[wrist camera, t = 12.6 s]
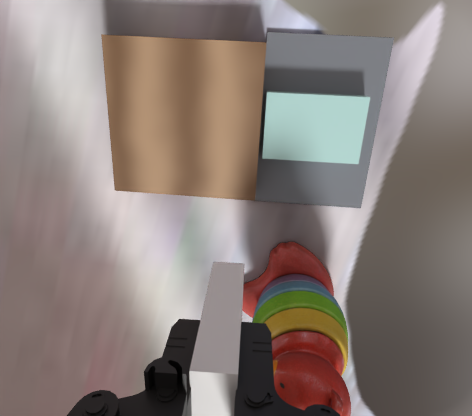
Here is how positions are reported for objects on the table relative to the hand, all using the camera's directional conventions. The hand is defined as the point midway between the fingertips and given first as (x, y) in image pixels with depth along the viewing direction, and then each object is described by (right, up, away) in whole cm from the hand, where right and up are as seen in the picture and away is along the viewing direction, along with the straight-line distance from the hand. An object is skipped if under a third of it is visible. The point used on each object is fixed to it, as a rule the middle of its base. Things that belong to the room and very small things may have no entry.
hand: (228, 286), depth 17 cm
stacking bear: (+7, -6, +24) cm, 26 cm away
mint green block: (+8, +12, +17) cm, 22 cm away
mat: (+8, +12, +17) cm, 22 cm away
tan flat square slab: (-4, +13, +18) cm, 22 cm away
